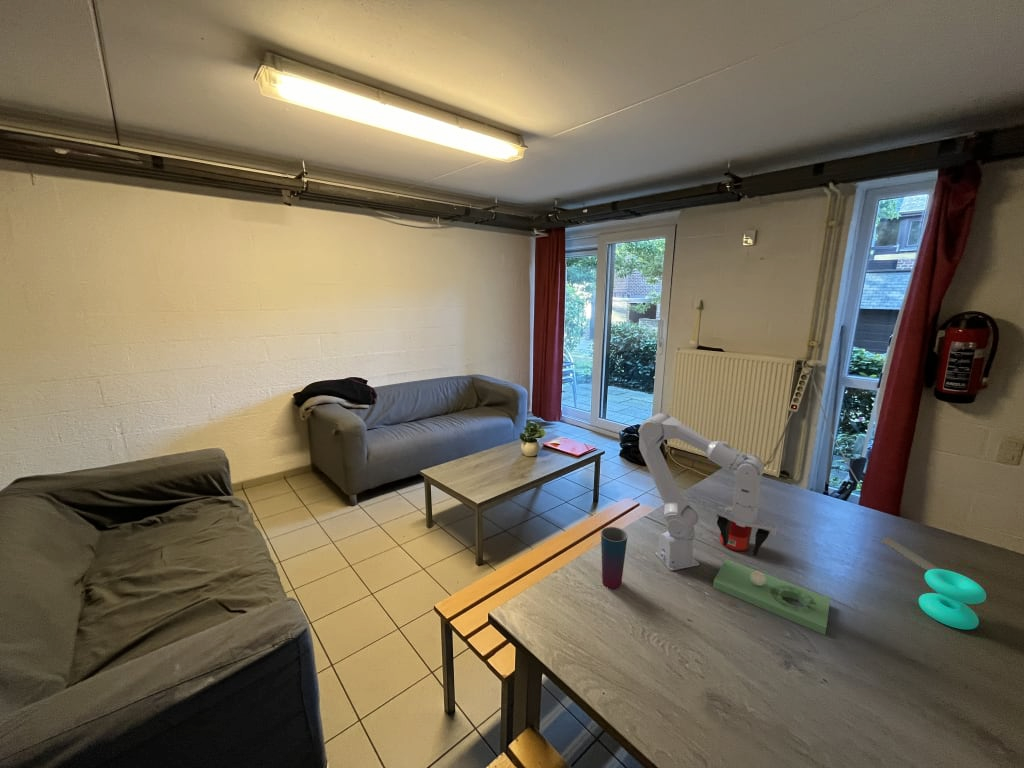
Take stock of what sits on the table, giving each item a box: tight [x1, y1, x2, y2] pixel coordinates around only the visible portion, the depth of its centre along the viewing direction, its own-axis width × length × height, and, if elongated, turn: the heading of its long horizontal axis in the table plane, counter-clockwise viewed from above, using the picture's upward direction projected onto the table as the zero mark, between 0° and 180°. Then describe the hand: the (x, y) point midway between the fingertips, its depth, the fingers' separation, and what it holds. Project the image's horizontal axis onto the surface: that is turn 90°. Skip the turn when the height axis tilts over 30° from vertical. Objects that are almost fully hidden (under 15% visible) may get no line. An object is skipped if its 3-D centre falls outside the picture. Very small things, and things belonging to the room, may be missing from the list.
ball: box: [750, 570, 766, 586], centre depth 106 cm, size 4×4×4 cm
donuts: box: [918, 568, 987, 631], centre depth 97 cm, size 10×10×10 cm
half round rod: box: [880, 536, 940, 572], centre depth 118 cm, size 4×20×2 cm, turn 2°
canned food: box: [719, 506, 753, 552], centre depth 125 cm, size 8×8×11 cm
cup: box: [600, 526, 628, 590], centre depth 109 cm, size 7×7×15 cm
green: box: [712, 558, 831, 636], centre depth 105 cm, size 24×12×2 cm, turn 49°
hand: (740, 548), depth 108 cm, fingers open, 6 cm apart
